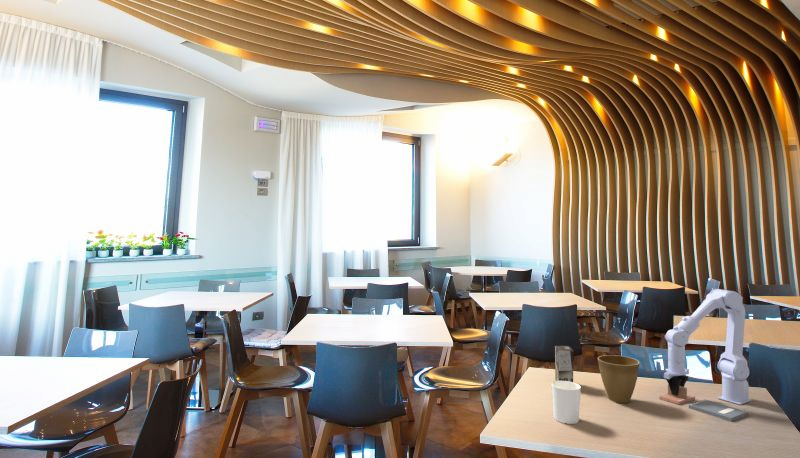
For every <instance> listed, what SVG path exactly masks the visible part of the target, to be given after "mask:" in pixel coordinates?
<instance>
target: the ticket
mask: <svg viewBox="0 0 800 458" xmlns="http://www.w3.org/2000/svg"><path fill="white" fill-rule="evenodd" d="M688 409H691V410H694V411H696V412H700V413H703V414H707V415H710V416H713V417H716V418H719V419H721V420H724V421H729V422H734V421H736V420H739V419H742V418H744V417H747V416H748V411H746V410H742V409H739V408H735V407H733V406H728V405H725V404H722V403H718V402H715V401H711V400H708V399H703V400H699V401H696V402H693V403H690V404H688Z"/></svg>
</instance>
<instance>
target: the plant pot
mask: <svg viewBox="0 0 800 458" xmlns="http://www.w3.org/2000/svg"><path fill="white" fill-rule="evenodd" d="M597 363H598V369H599V373H600V376H601V381H602V383H603V387H604V390H605V393H606V395H607V398H608V400H609V401H612V402H613V403H616V404H617V403H618V404H628V403H630V402H631V399H632V397H633V394H634V391H635V387H636V384H637V380H638V374H639V369H640V361H639V360H638V359H635V358H633V357H630V356H626V355H625V356H624V355H616V354H604V355H600V356H598V357H597Z"/></svg>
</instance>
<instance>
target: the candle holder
mask: <svg viewBox="0 0 800 458" xmlns="http://www.w3.org/2000/svg"><path fill="white" fill-rule="evenodd" d="M550 385H551V395H552V398H551V399H552V410H553V411H552V414H553V418H554V420H555V421H556V420H557V421H556V422H558V421H559V422H558V423H561V422H562V423H561V424H565V423H567V424H566V425H574V424H578V422H579V419H580V408H581V407H580V406H581V390H582V386H581V385H580V384H578V383H575V382H574V381H573V382H569V381H552V382H551V384H550Z"/></svg>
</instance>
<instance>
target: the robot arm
mask: <svg viewBox="0 0 800 458" xmlns="http://www.w3.org/2000/svg"><path fill="white" fill-rule="evenodd" d="M743 299H744V297H743V296H742V295H740V294H739V292H736V291H735V290H727V289H726V290H725V289H720V288H713V289H711V291H710V292H709V293H708V294H706V296H705V299H704V300H703V301H702V303H701V304H700V305H699V306H698V307H697V308H696V310H695V311H693V313H692V314H691V315H686V316H683V317H682V318H681V320H680V321H679V323H677V324H676V325H675V326H673V328H672V329H669V330H667V332H666V334H665V335H664V339H665V341H666V342H667V360H668V361H667V366H668V367H667V368H665V370H664V371H666V372H664V373H663V378H664V379H665V380H666V382H667V385H668V384H669V387H670V390H671V394H673V395H676V396H678V393H679V386H681V387H685V385H686V383H687V381H688V380H689V376H687V375H689V374H690V369H688V368H686V355H685V353H686V351H685V349H686V347H685V346H686V345H687V344H688V343H689V338H690V337H691V335H692V334H693V333H694V332H695V331H696V330H698V328H699V327H700V322H701V321H702V320H703V319H704V318H706V316H708V315H709V314H710V313H711V312H712V311H714V310H716V309H723V310H724V311H725V312H726V313H727V323H726V335H725V336H726V337H725V349H724V350H725V351H724V352H722V353H721V354H720V358H719V361H718V362H717V369H718V370H719V372H720V375H721V395H720V396H717V399H718V400H723V401H727V402H729V403H732V404H736V405H743V404H746V403H748V402H751V401H752V399H751V398H750V396H749V394H750V393H749V391H750V390H749V389H750V388H749V382H748V380H747V378H748V377H749V375H750V368H749V366H748V360H747V358H745V356H744V355H743V354H744V353H743V349H744V340H745V339H744V336H745V323H746V322H745V321H746V308H745V305H744V304H743Z"/></svg>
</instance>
